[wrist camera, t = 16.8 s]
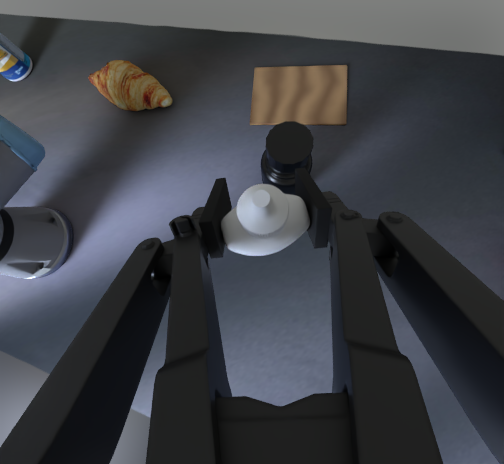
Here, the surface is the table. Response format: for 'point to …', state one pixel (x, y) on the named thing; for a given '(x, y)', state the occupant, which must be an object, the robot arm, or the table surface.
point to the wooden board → (300, 95)
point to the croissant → (130, 87)
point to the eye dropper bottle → (264, 221)
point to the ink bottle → (286, 155)
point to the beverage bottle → (13, 61)
